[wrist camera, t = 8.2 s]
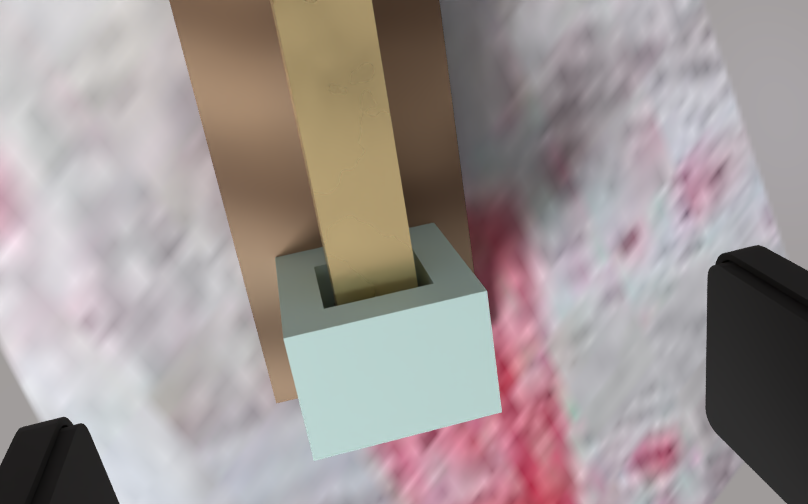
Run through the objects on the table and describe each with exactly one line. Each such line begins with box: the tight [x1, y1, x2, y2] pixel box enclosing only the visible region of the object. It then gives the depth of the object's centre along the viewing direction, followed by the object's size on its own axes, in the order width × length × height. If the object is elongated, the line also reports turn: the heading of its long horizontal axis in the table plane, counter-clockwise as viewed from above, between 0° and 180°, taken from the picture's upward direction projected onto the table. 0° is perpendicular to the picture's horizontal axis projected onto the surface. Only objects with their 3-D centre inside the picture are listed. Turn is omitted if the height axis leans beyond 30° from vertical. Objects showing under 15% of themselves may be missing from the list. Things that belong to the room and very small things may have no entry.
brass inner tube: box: [270, 0, 418, 306], centre depth 24 cm, size 20×3×3 cm, turn 9°
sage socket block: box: [275, 223, 502, 461], centre depth 28 cm, size 5×7×8 cm
